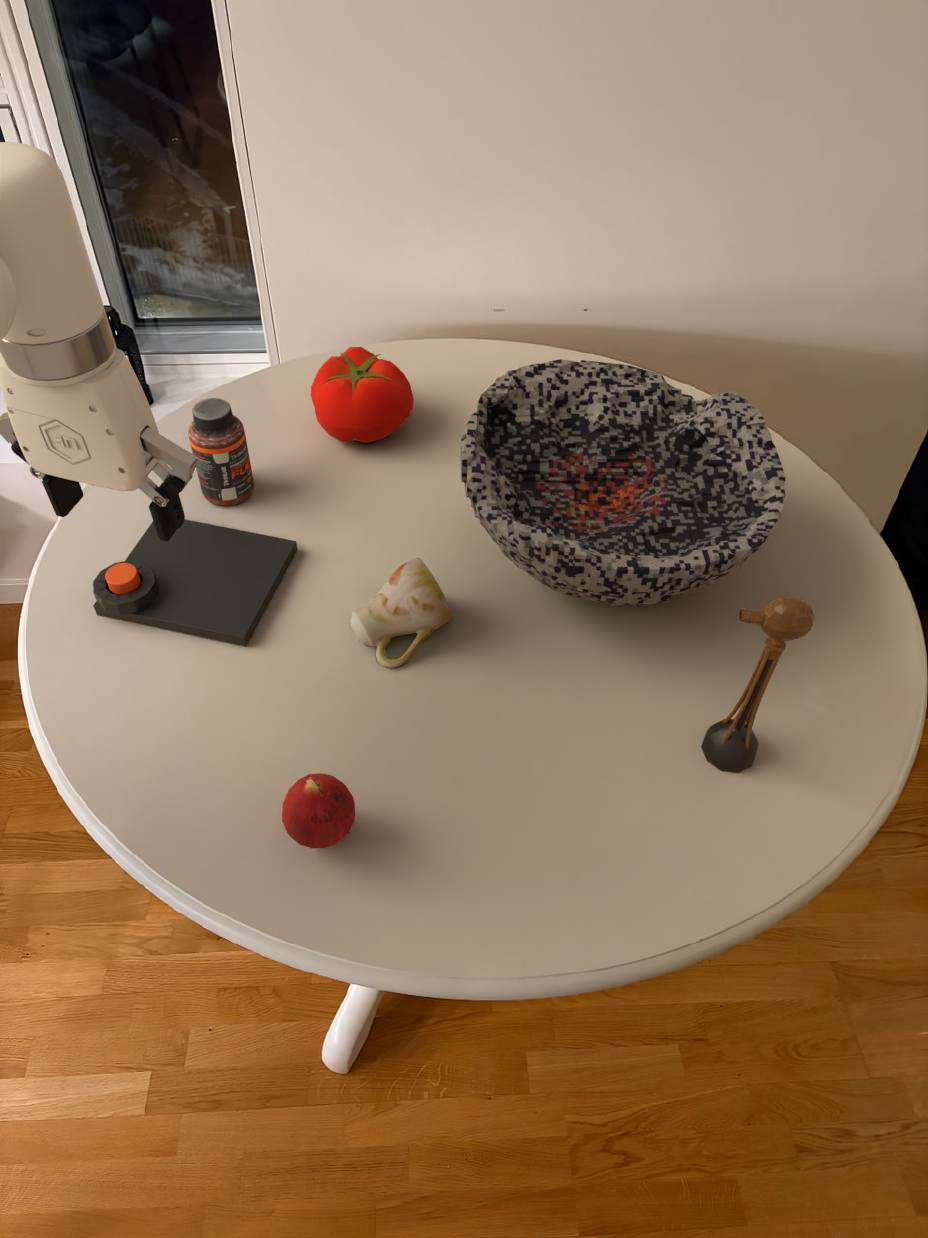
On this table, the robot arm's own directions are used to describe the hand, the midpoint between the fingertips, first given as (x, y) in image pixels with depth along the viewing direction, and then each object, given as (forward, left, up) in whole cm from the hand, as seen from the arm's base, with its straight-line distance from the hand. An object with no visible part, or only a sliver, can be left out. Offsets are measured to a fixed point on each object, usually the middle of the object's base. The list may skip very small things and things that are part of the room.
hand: (121, 518), depth 77 cm
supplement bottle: (-3, +22, -16) cm, 27 cm away
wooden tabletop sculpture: (+54, +1, -16) cm, 57 cm away
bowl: (+40, +23, -16) cm, 49 cm away
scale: (0, +8, -16) cm, 18 cm away
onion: (+22, -16, -16) cm, 32 cm away
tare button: (-5, +3, -13) cm, 15 cm away
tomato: (+8, +38, -16) cm, 42 cm away
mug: (+22, +7, -16) cm, 28 cm away
